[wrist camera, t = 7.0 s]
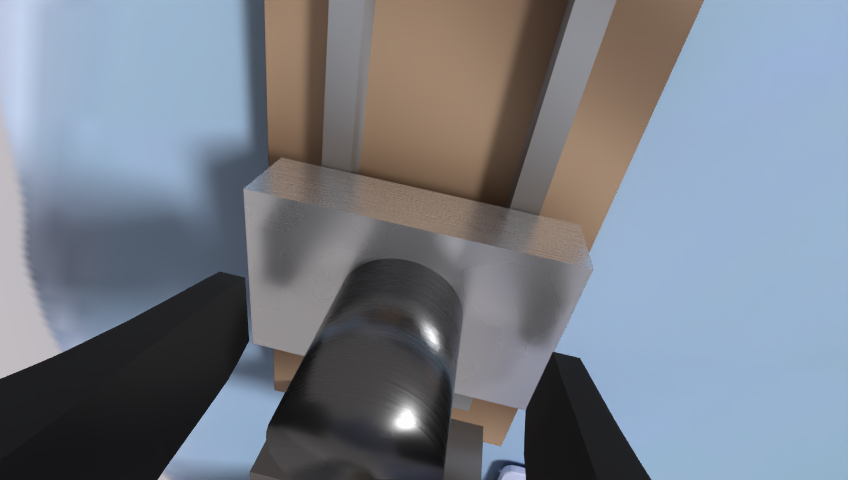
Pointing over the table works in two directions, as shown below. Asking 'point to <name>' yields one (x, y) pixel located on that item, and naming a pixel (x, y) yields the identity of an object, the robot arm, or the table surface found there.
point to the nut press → (470, 117)
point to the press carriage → (397, 314)
